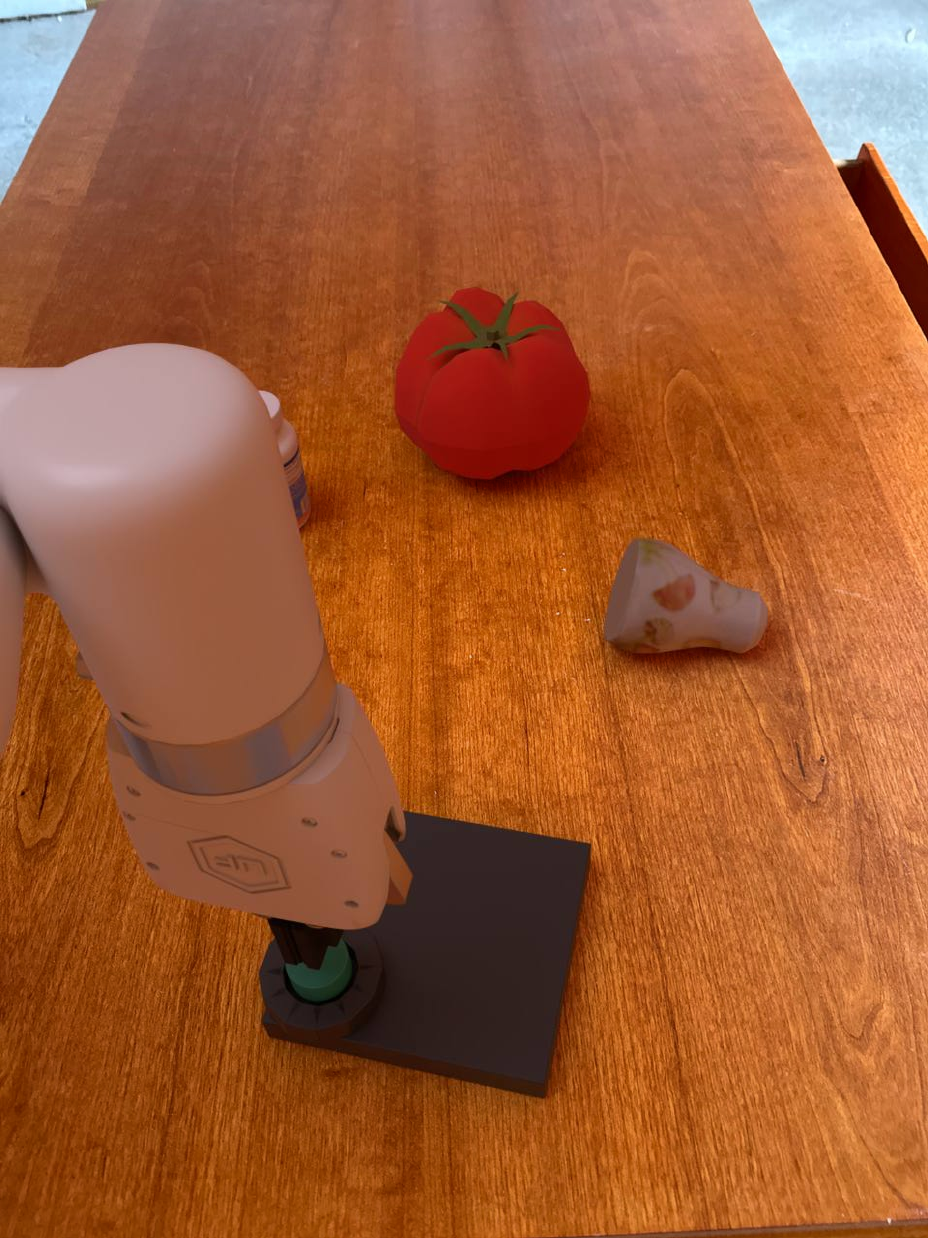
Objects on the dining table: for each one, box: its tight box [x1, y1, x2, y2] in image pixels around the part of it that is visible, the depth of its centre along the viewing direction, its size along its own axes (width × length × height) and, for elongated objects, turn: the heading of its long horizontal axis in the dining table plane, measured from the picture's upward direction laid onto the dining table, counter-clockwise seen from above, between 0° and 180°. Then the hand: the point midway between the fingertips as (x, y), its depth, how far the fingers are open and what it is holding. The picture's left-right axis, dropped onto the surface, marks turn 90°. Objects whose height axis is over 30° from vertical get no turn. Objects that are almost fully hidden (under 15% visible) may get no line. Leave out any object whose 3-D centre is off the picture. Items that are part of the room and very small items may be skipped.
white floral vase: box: [603, 537, 769, 654], centre depth 71 cm, size 8×10×10 cm
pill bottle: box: [257, 389, 312, 530], centre depth 79 cm, size 5×5×10 cm
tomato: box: [394, 285, 592, 481], centre depth 82 cm, size 13×14×12 cm
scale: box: [257, 810, 592, 1100], centre depth 58 cm, size 14×13×4 cm
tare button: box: [286, 939, 352, 1002], centre depth 55 cm, size 3×3×2 cm
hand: (313, 937), depth 53 cm, fingers closed
